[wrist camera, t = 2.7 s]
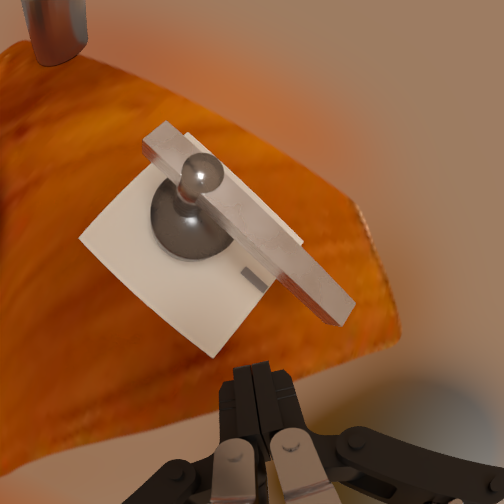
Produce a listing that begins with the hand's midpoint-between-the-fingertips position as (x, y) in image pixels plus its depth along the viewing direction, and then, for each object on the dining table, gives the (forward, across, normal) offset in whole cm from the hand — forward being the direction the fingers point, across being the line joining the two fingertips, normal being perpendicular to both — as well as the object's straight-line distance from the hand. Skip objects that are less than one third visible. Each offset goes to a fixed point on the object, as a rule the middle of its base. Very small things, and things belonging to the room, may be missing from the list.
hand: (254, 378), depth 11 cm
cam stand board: (+22, +4, 0) cm, 22 cm away
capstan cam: (+21, +2, +1) cm, 21 cm away
